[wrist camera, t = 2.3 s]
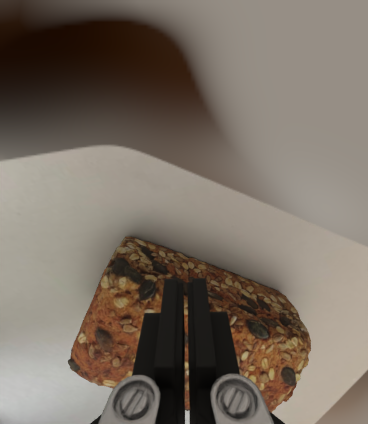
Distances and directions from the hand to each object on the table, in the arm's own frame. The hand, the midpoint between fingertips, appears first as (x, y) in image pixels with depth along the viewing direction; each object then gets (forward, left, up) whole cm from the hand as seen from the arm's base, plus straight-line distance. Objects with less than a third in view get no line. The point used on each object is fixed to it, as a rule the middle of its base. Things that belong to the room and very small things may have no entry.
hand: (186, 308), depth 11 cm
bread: (+12, 0, -15) cm, 19 cm away
